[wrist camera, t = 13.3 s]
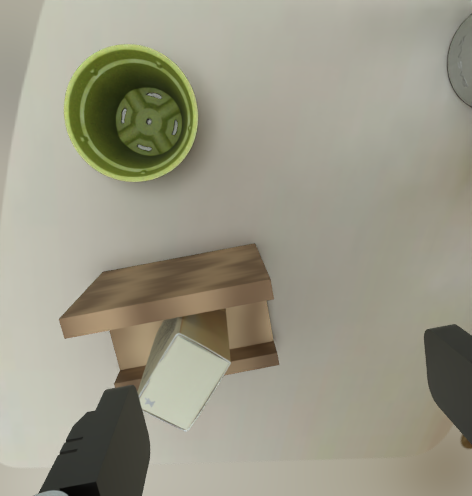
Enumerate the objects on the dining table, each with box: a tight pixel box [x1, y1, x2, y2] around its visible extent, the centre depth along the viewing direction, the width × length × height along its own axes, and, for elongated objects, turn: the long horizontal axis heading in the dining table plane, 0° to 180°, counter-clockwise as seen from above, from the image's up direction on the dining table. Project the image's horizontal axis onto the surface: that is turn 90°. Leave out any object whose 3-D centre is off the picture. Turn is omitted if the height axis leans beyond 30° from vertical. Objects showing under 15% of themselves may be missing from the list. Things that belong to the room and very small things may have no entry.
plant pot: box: [64, 44, 198, 182], centre depth 35 cm, size 9×9×9 cm
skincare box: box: [138, 308, 231, 432], centre depth 34 cm, size 6×4×12 cm
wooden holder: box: [59, 243, 279, 392], centre depth 37 cm, size 15×10×12 cm
